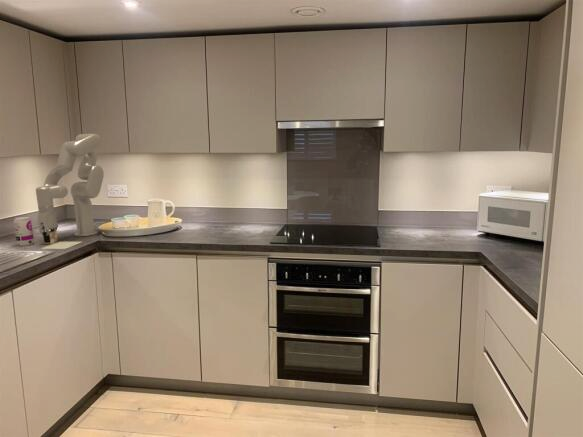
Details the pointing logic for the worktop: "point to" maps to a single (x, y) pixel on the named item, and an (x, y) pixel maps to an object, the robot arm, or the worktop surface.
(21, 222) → the supplement can
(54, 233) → the birch block
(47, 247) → the sage mat
